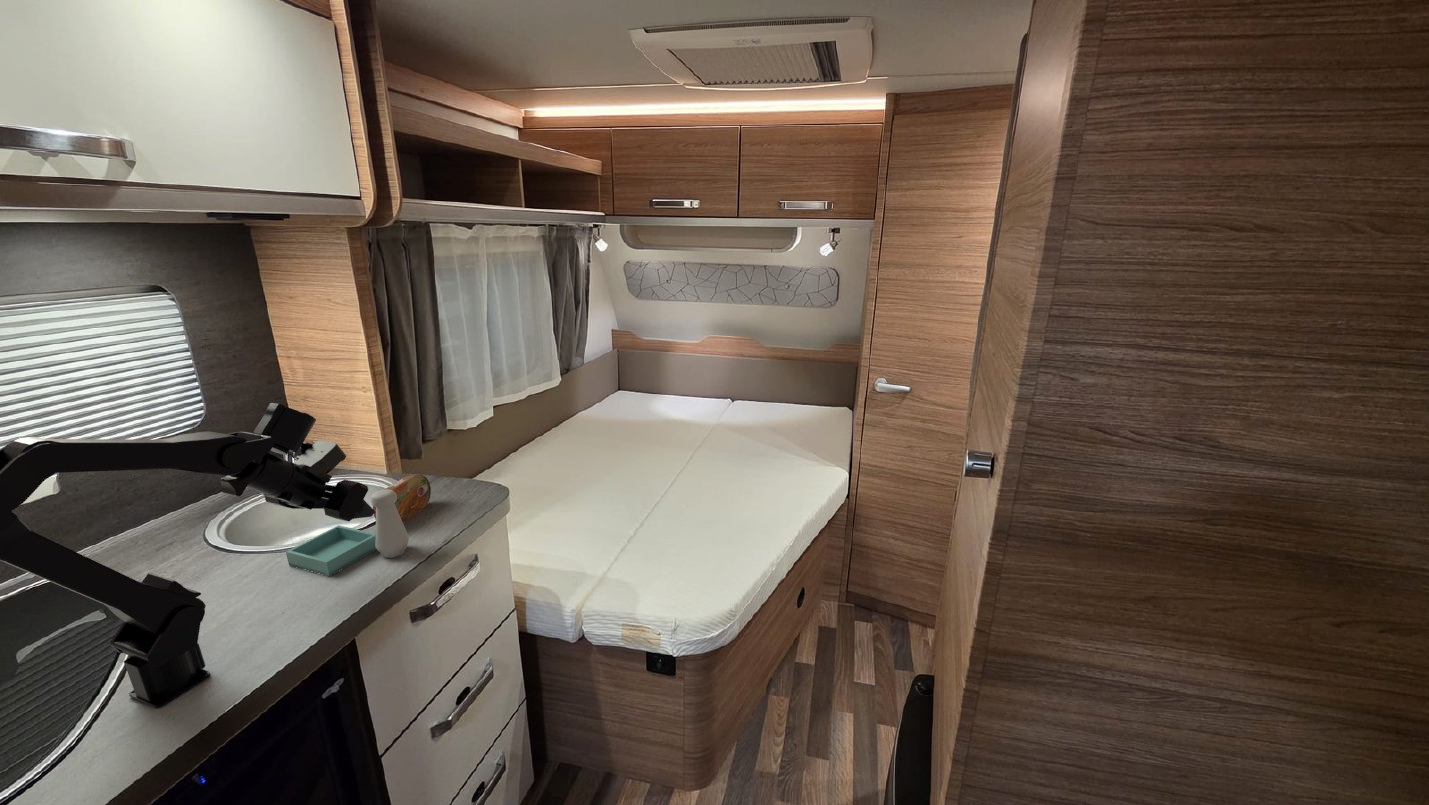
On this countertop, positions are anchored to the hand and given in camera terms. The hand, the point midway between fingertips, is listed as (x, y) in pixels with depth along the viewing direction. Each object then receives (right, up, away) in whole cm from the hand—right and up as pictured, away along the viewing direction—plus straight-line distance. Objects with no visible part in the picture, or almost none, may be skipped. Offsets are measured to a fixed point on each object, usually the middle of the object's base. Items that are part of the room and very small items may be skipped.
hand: (354, 509), depth 105 cm
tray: (-8, -11, +8) cm, 16 cm away
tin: (-3, -6, +23) cm, 24 cm away
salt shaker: (+2, -10, +9) cm, 14 cm away
